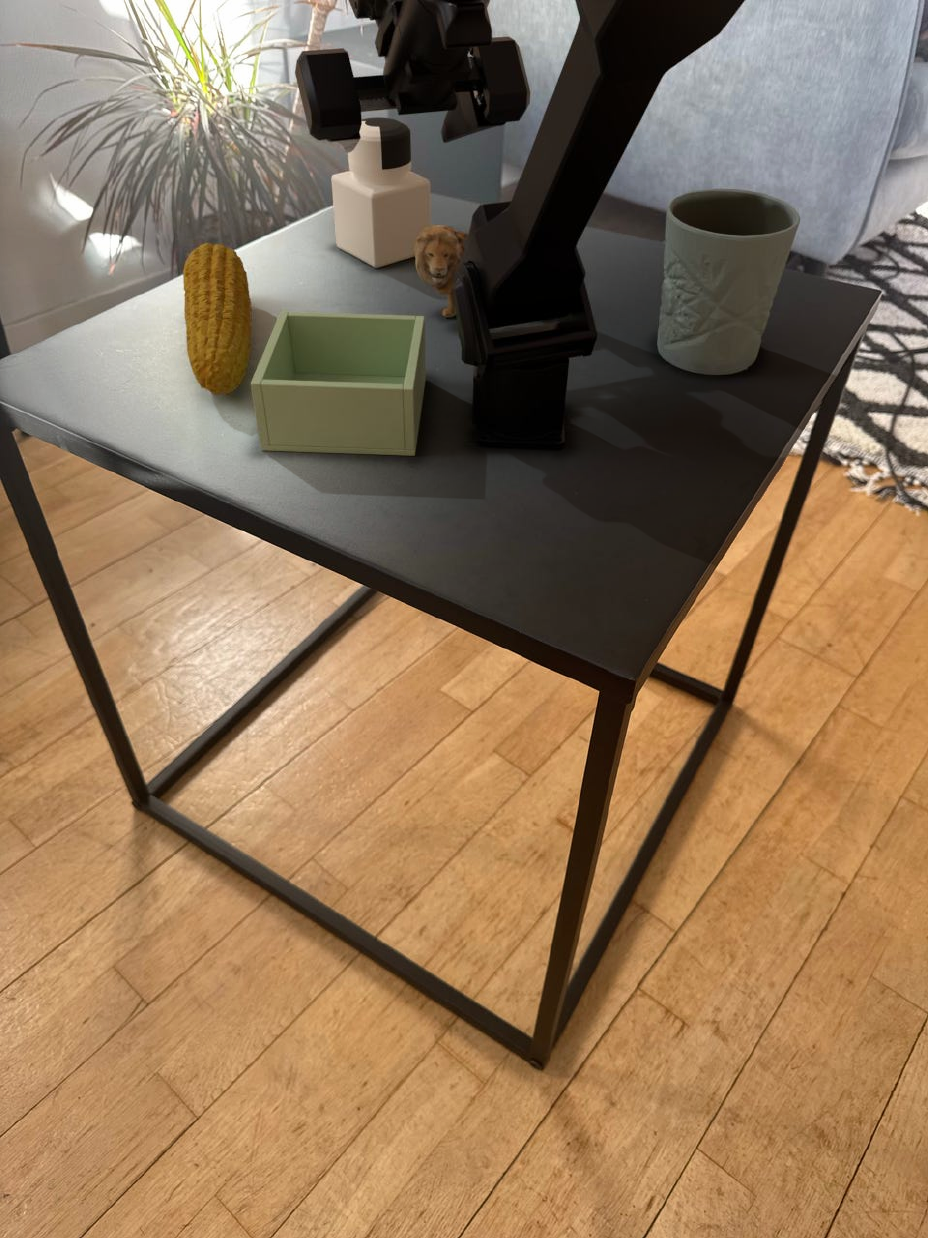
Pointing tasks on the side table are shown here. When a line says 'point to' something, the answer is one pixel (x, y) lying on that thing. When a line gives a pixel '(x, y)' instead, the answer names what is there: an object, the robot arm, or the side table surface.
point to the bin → (341, 384)
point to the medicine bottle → (380, 196)
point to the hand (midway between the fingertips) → (395, 142)
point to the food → (217, 317)
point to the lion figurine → (440, 260)
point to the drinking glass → (721, 276)
